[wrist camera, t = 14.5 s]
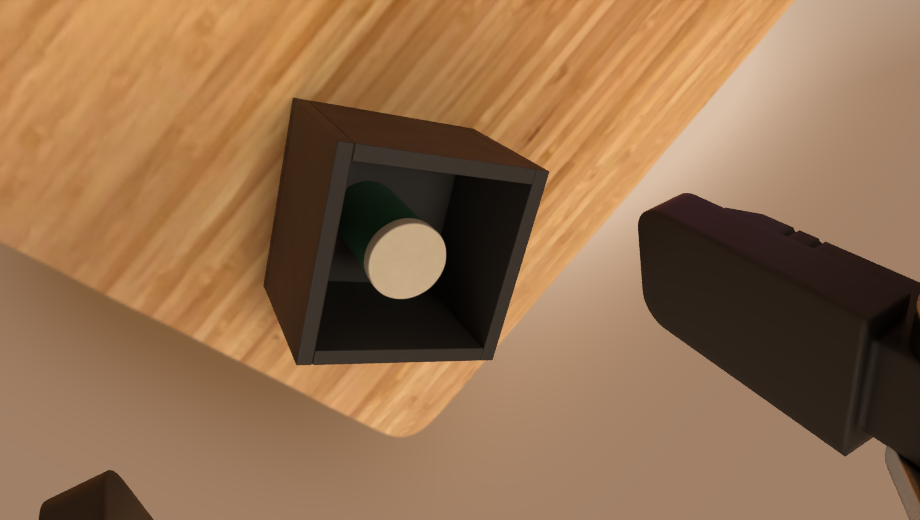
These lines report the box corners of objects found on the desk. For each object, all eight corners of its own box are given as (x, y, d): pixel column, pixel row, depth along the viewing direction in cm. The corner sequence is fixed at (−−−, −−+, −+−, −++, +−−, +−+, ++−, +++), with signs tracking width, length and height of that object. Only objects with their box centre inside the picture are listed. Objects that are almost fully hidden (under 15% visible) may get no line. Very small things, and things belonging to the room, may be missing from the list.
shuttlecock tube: (324, 243, 38) (360, 298, 32) (338, 174, 37) (378, 219, 31) (390, 248, 40) (435, 301, 34) (406, 183, 39) (455, 227, 33)
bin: (263, 286, 38) (296, 366, 31) (292, 97, 34) (337, 140, 27) (432, 291, 44) (492, 360, 37) (474, 128, 40) (549, 171, 33)
